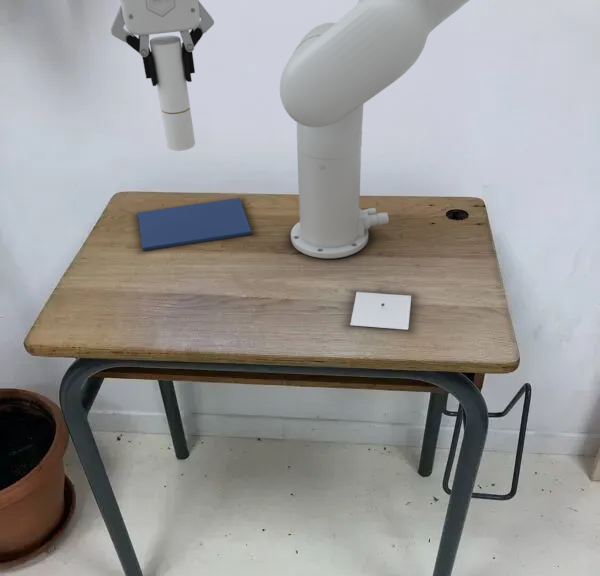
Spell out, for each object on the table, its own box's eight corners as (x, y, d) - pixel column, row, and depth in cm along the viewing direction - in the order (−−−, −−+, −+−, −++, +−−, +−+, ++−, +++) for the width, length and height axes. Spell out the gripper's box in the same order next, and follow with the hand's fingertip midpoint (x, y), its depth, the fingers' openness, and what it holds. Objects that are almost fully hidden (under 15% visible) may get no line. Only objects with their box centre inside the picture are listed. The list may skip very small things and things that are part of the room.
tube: (190, 151, 105) (174, 45, 95) (163, 149, 106) (145, 44, 96) (198, 139, 108) (184, 35, 98) (172, 138, 109) (155, 35, 99)
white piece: (350, 325, 96) (350, 320, 96) (356, 292, 102) (356, 287, 101) (408, 329, 95) (408, 325, 94) (411, 295, 101) (411, 291, 100)
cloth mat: (239, 200, 123) (239, 197, 123) (251, 234, 115) (251, 231, 114) (138, 215, 121) (137, 212, 120) (143, 250, 112) (142, 247, 112)
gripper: (81, -57, 84) (114, 97, 97) (218, -69, 86) (232, 83, 99) (80, -69, 89) (111, 78, 102) (209, -80, 92) (224, 65, 104)
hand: (171, 79), depth 100 cm, fingers closed on tube, 4 cm apart
